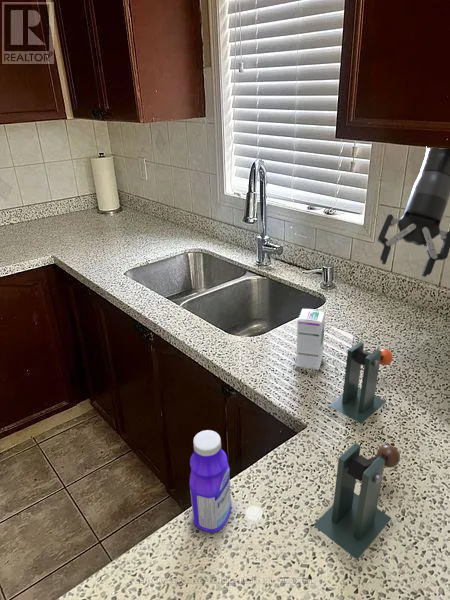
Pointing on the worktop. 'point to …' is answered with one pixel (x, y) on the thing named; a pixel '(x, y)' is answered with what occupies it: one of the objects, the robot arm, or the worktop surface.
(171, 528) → the worktop surface
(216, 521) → the bottle
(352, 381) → the bracket
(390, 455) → the rod
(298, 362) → the syrup box
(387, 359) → the rod
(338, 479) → the bracket
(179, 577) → the worktop surface
